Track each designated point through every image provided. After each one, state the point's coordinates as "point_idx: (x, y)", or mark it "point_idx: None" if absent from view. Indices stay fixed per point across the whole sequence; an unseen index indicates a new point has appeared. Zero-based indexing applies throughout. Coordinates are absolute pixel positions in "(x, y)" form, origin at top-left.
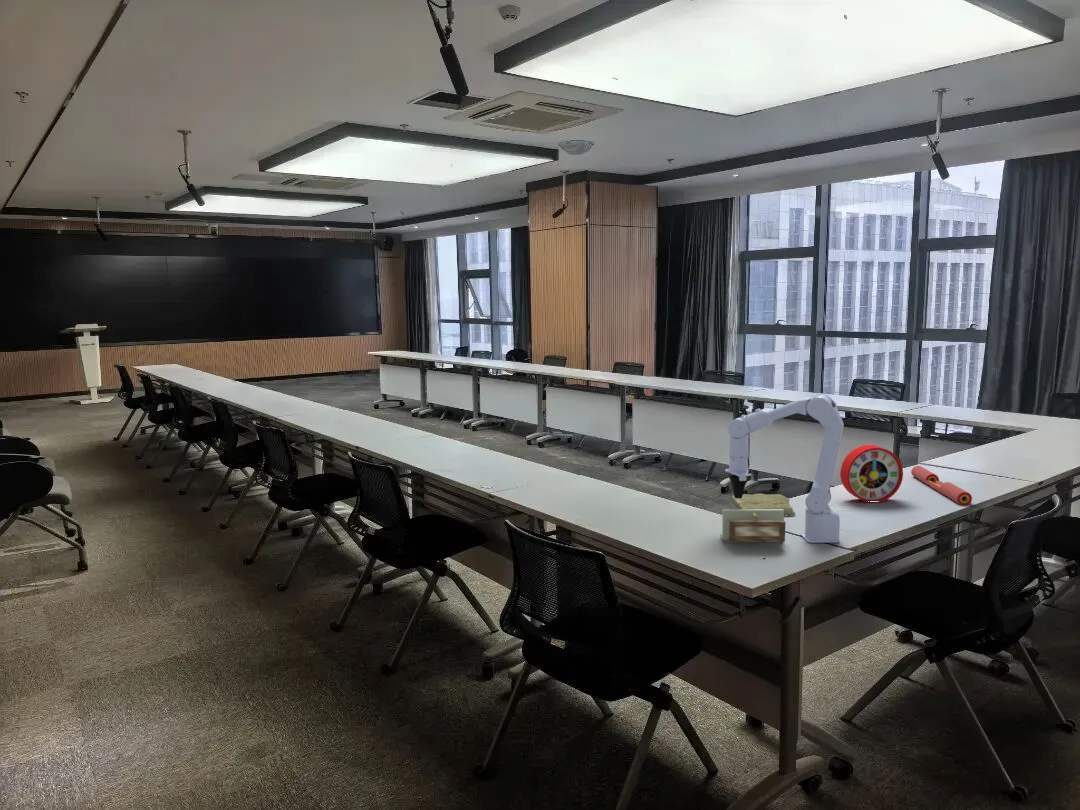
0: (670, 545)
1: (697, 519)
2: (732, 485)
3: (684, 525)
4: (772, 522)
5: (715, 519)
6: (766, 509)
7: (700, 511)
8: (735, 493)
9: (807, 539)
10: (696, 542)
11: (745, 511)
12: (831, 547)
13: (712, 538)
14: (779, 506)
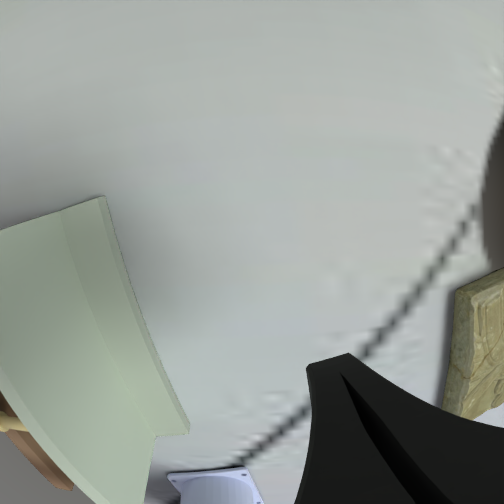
0: (10, 28)
1: (405, 76)
2: (397, 440)
3: (293, 9)
4: (26, 455)
5: (422, 161)
6: (91, 490)
7: (496, 112)
8: (312, 404)
9: (183, 477)
10: (37, 99)
11: (10, 397)
12: (156, 496)
13: (96, 156)
14: (469, 406)
